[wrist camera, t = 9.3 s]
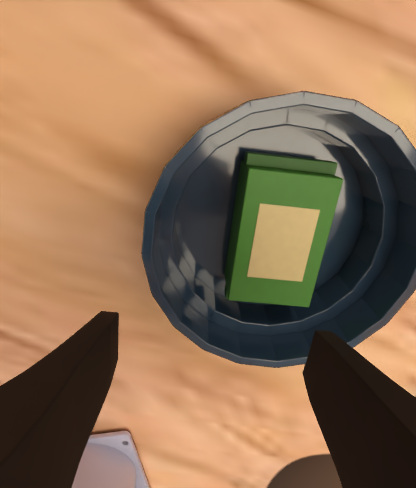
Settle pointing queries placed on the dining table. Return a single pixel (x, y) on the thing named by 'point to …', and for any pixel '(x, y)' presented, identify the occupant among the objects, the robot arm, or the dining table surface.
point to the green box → (280, 228)
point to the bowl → (338, 243)
